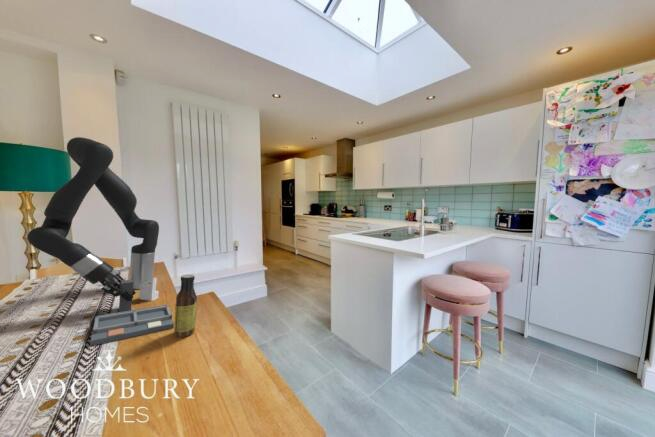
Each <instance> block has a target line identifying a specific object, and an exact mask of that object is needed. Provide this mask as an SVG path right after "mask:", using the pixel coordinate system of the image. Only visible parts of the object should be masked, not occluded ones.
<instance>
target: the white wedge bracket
mask: <svg viewBox="0 0 655 437" xmlns="http://www.w3.org/2000/svg"><path fill="white" fill-rule="evenodd" d="M157 280H158V278H157V276H156V277H153V279H151V280H148V281H146V282H144V283H142V284H140V289H139V297H138V298H139V300H141V301H149V302H152V301H154V300H157V299H159V294H160V291H159V290H157Z"/></svg>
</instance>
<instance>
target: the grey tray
mask: <svg viewBox="0 0 655 437" xmlns="http://www.w3.org/2000/svg"><path fill="white" fill-rule="evenodd" d="M174 324H175V322H174V321H173V314H172V312H171V309H170V308H169V305H167V304H163V305H162V304H161V305H156V306H149V307H142V308H136V309H131V310H126V311H120V312H119V311H118V312H112V313H105V314H99V315H95V317H94V322H93V327H92V332H91V336H90V337H91V338H90V342H89V344H90V346H89V347H92V346H98V345H102V344H107V343H111V342H115V341H116V342H117V341H120V340H124V339H125V340H126V339H129V338H130V339H131V338H135V337H138V336H143V335H148V334H154V333H157V332H162V331H166V330H167V331H168V330H172V329H174Z"/></svg>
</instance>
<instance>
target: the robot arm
mask: <svg viewBox="0 0 655 437" xmlns="http://www.w3.org/2000/svg"><path fill="white" fill-rule="evenodd" d="M66 151H67V154H68V155H69V157H70V158H71V160H73V161H74V162H75V164H77V165H78V166H79V169H78V170H77V172H76V174H75V175H74V176H73V177H72V178H70V179H69V181H67V182H66V183H65V184H63V185H62V186H61V187H59V188H58V189H57V190H56V191H55V192H54V194H53V195H52V196H51V198H50V200H49V202H48V204H47V205H46V207H45V209H44V212H43V214H44V216H45V218H44V220H43V222H42V225H41V226H37V227H34V228H33V229H31V230H30V231H29V232H28V233H27V237H26V239H27V241H28V242H29V244H30V245H31V246H33V247H34V248H36V249H37V250H39V251H41V252H42V253H45V254H47V255H49V256H51V257H54V258H55V259H57V260H59V261H60V262H61V263H64V264H65V265H66V266H68V267H69V268H70V269H71V270H73V272H75V273H76V274H77V275H79V276H80V277H82V278H83V279H84V280H87V281H88V282H89V283H90V284H92V285H96V284H97V283H100V284H101V286H103V287H102V288H101V290H102V291H104V292H105V293H107V294H109V295H111V296H112V297H115V298H117V297H120V296H121V297H122V298H124V299H125V300H127V301H130V300H131V299H132V300H133V299H134V295H136V293H137V292H136V291H135V290H140V284H142V283H144V282H146V281H148V280H151V279H153V278H154V267H155V257H156V256H155V255H156V254H155V253H156V247H157V246H158V240H159V234H160V226H159V222H158V221H157V220H152V219H144V218H140V217H139V216H138V215H137V213H136V212H135V210H136V207H137V203H138V201H137V197H136V195H135V194H134V192H133V190H132V189H131V187H130V186H129V185H128V183H126V182H125V181H124V180H123V179H122V178H121V177H120V176H118V175H117V174H116V173H115V172H114V171H112V170H111V168H110V167H109V166H110V165H111V164H112V162H113V159H114V151H113V150H112V149H111V147H109V146H108V145H107V144H104V143H102V142H100V141H96V140H93V139H91V138H86V137H83V136H81V137H80V136H75V137H73V138H71V139H70V140H68V142H67V144H66ZM93 186H95V187H96V188H97V191H99V192H100V194H101V195H102V196H103V198H104V200H106V201H107V203H108V204H109V206H110V207H111V208H112V210H114V212H115V213H116V215H117V217H118V218H119V219H120V220H121V222H122V224H123V226H124V227H125V229H126V231H127V232H128V234H129V235H130V236H131V237H133V238H136V239H142V242H141V243H139V244H135V245H132V247H131V250H130V263H129V274H128V275H129V276H128V278H129V277H131V278H130V280H133V293H132V295H131V294H130V293H128V292H127V291H125V290H124V289H123V288H122V285H121V281H122V280H125V278H124V277H122V276H121V275H120V274H119V273H115V274H114V273H112V272H113V271H114V270H115V268H114V267H113V266H111V265H110V264H109V263H107V262H106V261H105V260H103V259H102V258H101V257H100V256H98V255H96V254H94V253H93V252H91V251H90V250H89V249H88V248H86V247H84V246H83V245H82V244H80V243H76V242H72V241H71V240H69V239H67V237H68V235H69V233H70V229H71V227H72V224H73V219H74V217H75V216H76V214H77V213H78V211H79V209H80V207H81V204H83V201H84V200H85V197H86V196H87V195H88V193H89V192H90V190H91V189H92V188H93Z"/></svg>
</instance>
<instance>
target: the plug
mask: <svg viewBox="0 0 655 437" xmlns="http://www.w3.org/2000/svg"><path fill="white" fill-rule="evenodd" d="M130 278H131V277H129V276H128V279H127V277H124V280H122V281H121V285H122V288H123V289H124V290H125V291H127V292H128V293H130V294H131V295H132V293H133V290H134V289H133V280H130ZM132 302H133V299H131V300H130V301H127V300H125V299H124V298H122V297H121V296H119V305H118V312H123V311H130V310H132V305H133V304H132Z"/></svg>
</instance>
